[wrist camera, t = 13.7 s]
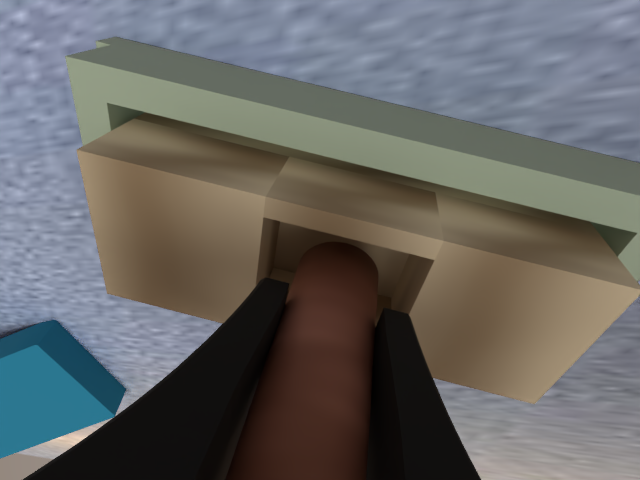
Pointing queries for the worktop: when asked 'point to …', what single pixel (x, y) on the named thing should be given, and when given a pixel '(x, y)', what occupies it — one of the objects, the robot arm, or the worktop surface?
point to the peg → (316, 375)
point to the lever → (50, 387)
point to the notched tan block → (356, 229)
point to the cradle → (358, 134)
